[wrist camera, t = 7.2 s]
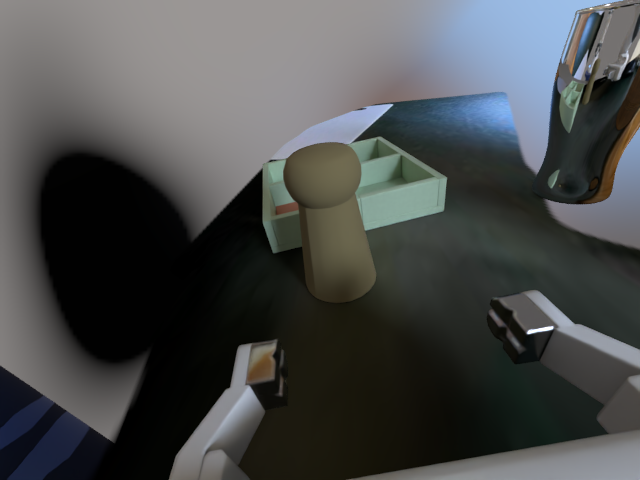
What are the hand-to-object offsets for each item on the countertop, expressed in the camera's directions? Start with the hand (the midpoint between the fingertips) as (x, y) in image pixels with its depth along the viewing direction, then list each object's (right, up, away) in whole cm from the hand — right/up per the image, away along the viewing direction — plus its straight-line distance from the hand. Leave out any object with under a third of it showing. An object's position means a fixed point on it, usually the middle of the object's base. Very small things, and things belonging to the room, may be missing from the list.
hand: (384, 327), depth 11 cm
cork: (-1, 0, +13) cm, 13 cm away
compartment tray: (0, +9, +26) cm, 27 cm away
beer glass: (+23, +8, +18) cm, 30 cm away
